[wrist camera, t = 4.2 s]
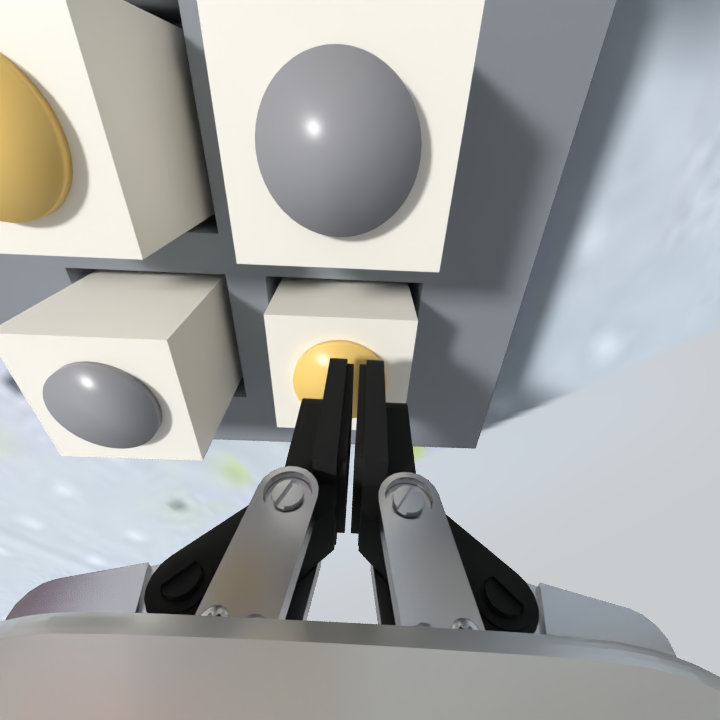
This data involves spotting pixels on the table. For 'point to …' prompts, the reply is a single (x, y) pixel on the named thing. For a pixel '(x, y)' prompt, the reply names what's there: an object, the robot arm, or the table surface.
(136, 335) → the button
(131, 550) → the table surface
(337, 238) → the button
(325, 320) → the button
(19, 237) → the button
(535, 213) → the board
